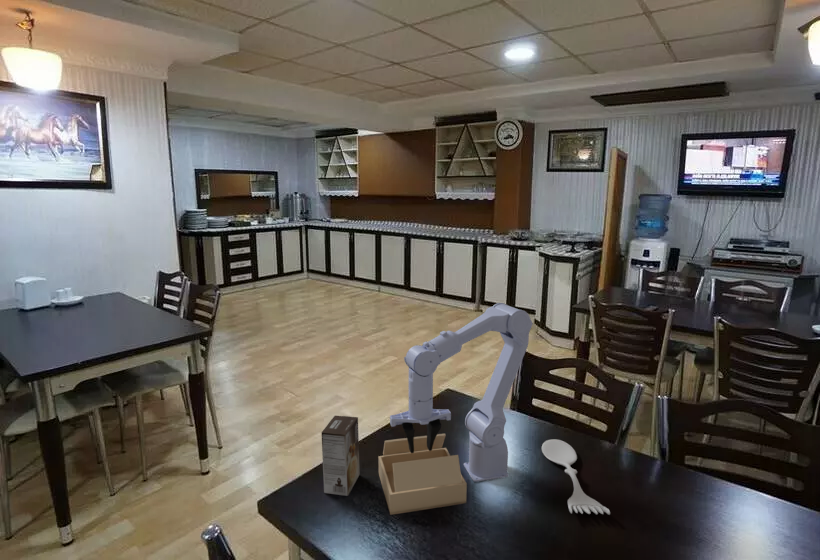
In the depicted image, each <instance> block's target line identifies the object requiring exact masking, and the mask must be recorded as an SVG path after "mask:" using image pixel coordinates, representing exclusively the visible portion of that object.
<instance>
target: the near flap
mask: <svg viewBox="0 0 820 560" xmlns="http://www.w3.org/2000/svg"><path fill="white" fill-rule="evenodd" d="M392 465H393V475H394V486H395V492H400V491H407V490H414V489H420V488H427V487H434V486H441V485H448V484H455V483H462V479H461V475H462V473H461V466H460V458H459V454H455V455H454V454H452V455H450V456H445V457H437V458H430V459H422V460H414V461H406V462H399V463H392Z"/></svg>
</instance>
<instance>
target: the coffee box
mask: <svg viewBox="0 0 820 560" xmlns="http://www.w3.org/2000/svg"><path fill="white" fill-rule="evenodd" d="M359 440H360V439H359V416H358V417H357V416H347V415H334V416H333V417H332V419H331V420H330V421H329V422H328V424H326V426H325V427H324V429H322V431H321V449H322V450H321V451H322V452H321V454H322V472H323V493H324V494H329V495H330V494H331V495H337V496H338V495H339V496H346V497H347V496H349V495H350V494H351V491H352V490H353V487H354V486H355V484H356V482H357V480H358V478H359V476H360V475H361V474H360V450H359V449H360V448H359V447H360V445H359V444H360V441H359Z"/></svg>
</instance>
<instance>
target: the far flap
mask: <svg viewBox="0 0 820 560" xmlns="http://www.w3.org/2000/svg"><path fill="white" fill-rule="evenodd" d="M445 439H446V433H438V434H437V436H436V438H435V440H434V443H433V447H432V450H433V449H441V448H443V445H444V442H445ZM425 450H429V449H428V447H427V435H420V436H414V452H417V451H425ZM409 452H410V450H409V444H408V440H407V437H406V438H405V437H404V438H396V439H388V440H384V444H383V451H382V454H383V455H382V456H385V455H393V454H401V453H409Z"/></svg>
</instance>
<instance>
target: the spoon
mask: <svg viewBox="0 0 820 560" xmlns="http://www.w3.org/2000/svg"><path fill="white" fill-rule="evenodd" d="M541 445H542V446H541V452H542V454H543V456H545V457H546V459H548V460H549V461H551V462H552V463H555V464H557V465H560V466H563V467H565V469H564V473H565V474H566V475H569V476H570V479H571V481H572V484H573V492H572V494H571V496H570V497H569V498H568V499H567V507H568V511H569V513H570V514H573V511H574V512H575V513H576V514H579V513H580V514H581V515H584V512H585V513H586V514H588V515H591V512H593V513H594V514H595V515H598V514H599V513H600V514H601V515H604V513H606V514H607V515H609V516H610V515H611V511H610V509H609V508H607V507H606V506H604V505H603V504H601V502H599V501H597V500H596V499H594V498H592V497H591V496H589V495H587V494H586V493H585V492H584V491H583V488H582V487H581V485H580V482H579V479H578V478H577V474H578V471H577V469H574V468H572V467H571V465H573V464H574V463H576V461H577V459H578V455H577V452H576V450H575V449H574V448H573V447H572V445H570V444H569V443H567V442H566V441H563V440H561V439H547V440H545V441H544V442H543V443H542V444H541Z"/></svg>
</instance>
